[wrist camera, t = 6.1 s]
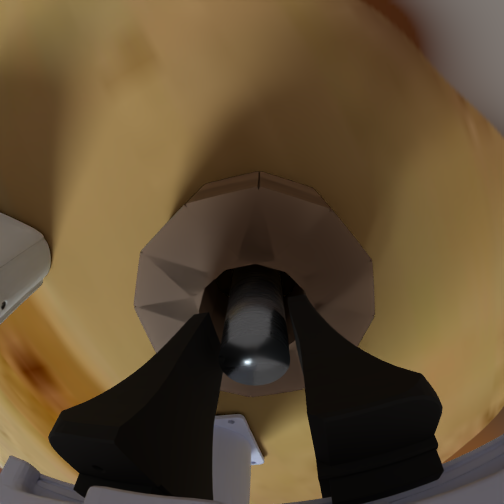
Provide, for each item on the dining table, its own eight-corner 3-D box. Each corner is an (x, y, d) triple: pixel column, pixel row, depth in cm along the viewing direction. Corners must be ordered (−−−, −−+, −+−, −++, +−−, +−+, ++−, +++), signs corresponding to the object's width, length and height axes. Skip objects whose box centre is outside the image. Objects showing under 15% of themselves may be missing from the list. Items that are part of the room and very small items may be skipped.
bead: (196, 355, 18) (184, 403, 15) (137, 203, 15) (101, 227, 11) (356, 327, 17) (374, 373, 14) (335, 155, 14) (361, 165, 10)
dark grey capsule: (243, 295, 17) (234, 391, 10) (227, 257, 16) (206, 344, 10) (285, 283, 17) (298, 376, 10) (271, 243, 16) (278, 325, 9)
